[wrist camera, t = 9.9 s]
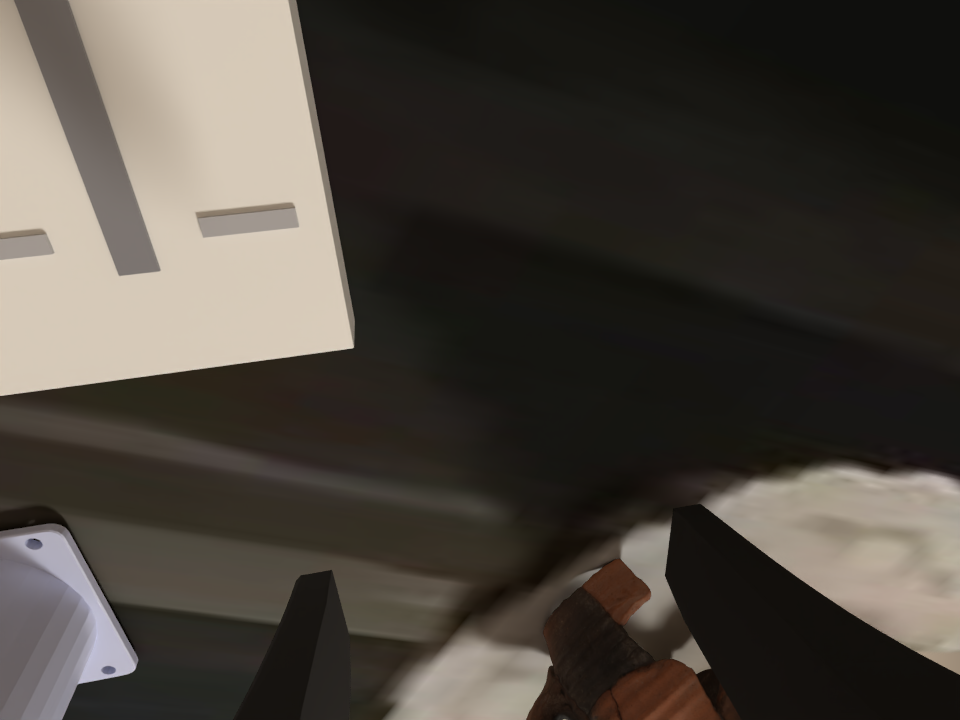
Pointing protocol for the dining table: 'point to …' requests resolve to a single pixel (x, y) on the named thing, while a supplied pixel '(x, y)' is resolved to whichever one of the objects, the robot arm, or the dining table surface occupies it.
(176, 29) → the console board
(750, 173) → the dining table surface
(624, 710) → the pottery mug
